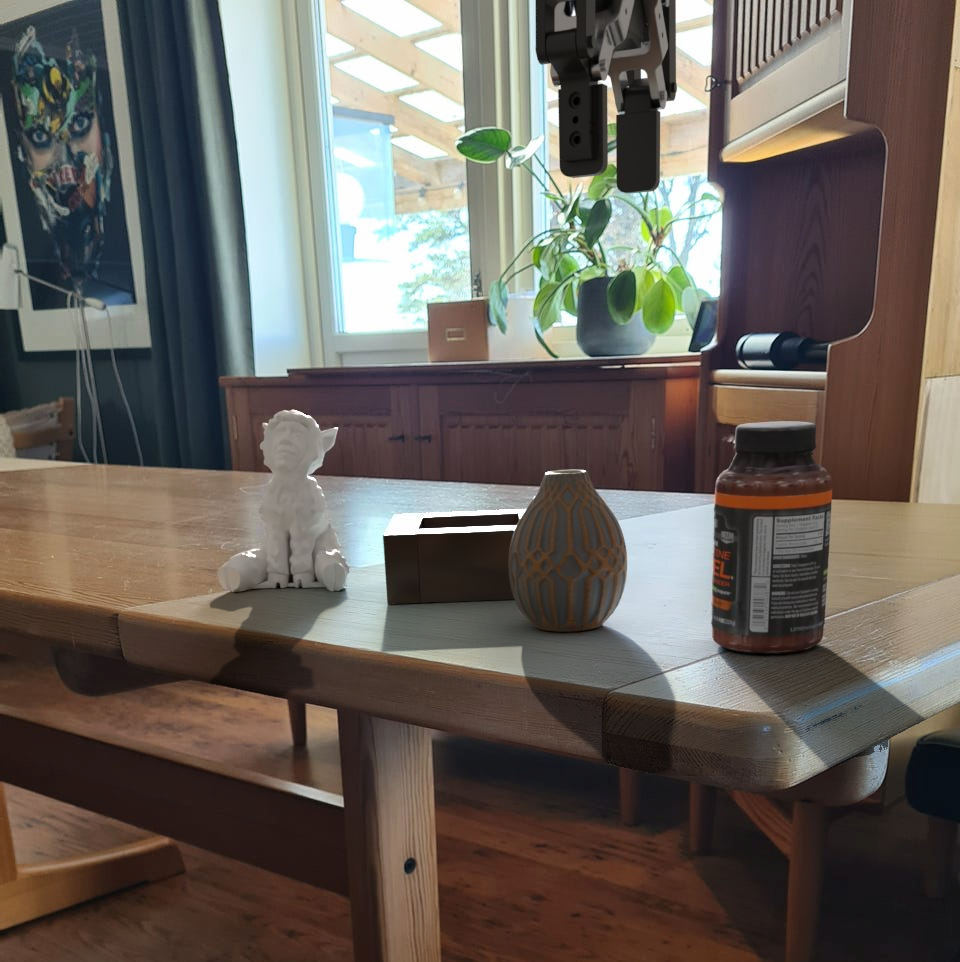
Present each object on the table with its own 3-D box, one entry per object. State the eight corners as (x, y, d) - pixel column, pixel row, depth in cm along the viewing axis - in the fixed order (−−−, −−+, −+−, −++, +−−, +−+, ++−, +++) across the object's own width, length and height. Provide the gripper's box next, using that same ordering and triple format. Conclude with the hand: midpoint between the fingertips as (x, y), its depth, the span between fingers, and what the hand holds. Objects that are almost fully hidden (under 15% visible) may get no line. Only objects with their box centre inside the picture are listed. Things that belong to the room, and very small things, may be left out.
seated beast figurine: (215, 593, 91) (195, 416, 87) (254, 573, 99) (237, 409, 95) (344, 591, 90) (330, 411, 85) (373, 571, 98) (361, 405, 93)
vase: (550, 610, 80) (547, 465, 77) (648, 619, 77) (649, 466, 73) (487, 631, 75) (481, 476, 72) (588, 641, 71) (586, 478, 68)
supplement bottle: (697, 636, 72) (702, 423, 67) (801, 630, 72) (812, 417, 68) (728, 660, 66) (735, 429, 62) (840, 653, 66) (854, 423, 62)
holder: (548, 570, 95) (547, 508, 93) (556, 597, 84) (555, 528, 83) (397, 576, 95) (393, 514, 93) (387, 604, 85) (382, 535, 83)
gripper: (641, -290, 52) (640, 162, 58) (728, -175, 64) (720, 190, 70) (473, -247, 55) (488, 178, 61) (586, -145, 67) (590, 202, 73)
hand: (612, 184), depth 65 cm, fingers open, 8 cm apart
